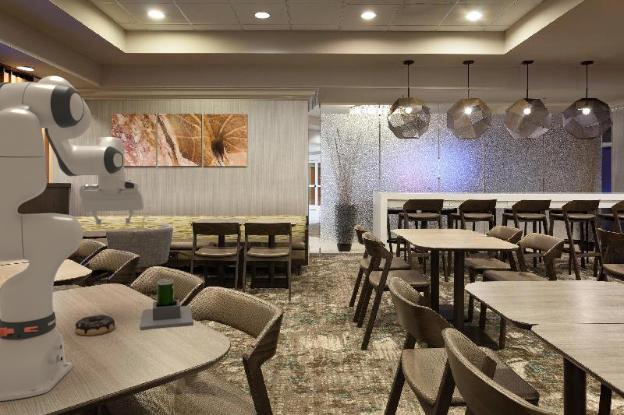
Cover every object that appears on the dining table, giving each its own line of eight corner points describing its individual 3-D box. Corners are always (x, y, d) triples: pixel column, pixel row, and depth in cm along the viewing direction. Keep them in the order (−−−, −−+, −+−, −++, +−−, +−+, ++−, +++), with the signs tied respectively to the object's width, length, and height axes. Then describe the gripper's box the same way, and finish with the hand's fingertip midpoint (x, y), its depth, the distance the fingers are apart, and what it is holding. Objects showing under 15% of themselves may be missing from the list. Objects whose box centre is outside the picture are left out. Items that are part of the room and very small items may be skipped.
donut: (99, 323, 158) (99, 311, 158) (123, 329, 152) (122, 316, 152) (67, 333, 149) (67, 320, 149) (91, 339, 143) (91, 326, 143)
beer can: (160, 318, 159) (159, 282, 158) (156, 314, 163) (154, 279, 162) (176, 315, 162) (175, 280, 161) (172, 312, 166) (170, 277, 165)
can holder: (193, 324, 155) (192, 309, 154) (140, 330, 150) (139, 314, 150) (190, 308, 174) (190, 294, 174) (143, 312, 169) (142, 298, 169)
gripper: (77, 184, 162) (79, 226, 163) (142, 183, 167) (143, 223, 168) (80, 184, 168) (82, 224, 169) (143, 183, 173) (144, 221, 174)
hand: (113, 223), depth 169 cm, fingers open, 8 cm apart
